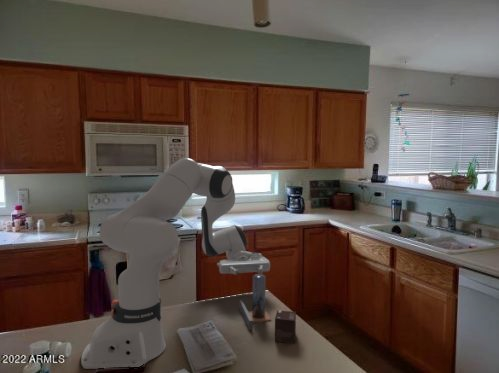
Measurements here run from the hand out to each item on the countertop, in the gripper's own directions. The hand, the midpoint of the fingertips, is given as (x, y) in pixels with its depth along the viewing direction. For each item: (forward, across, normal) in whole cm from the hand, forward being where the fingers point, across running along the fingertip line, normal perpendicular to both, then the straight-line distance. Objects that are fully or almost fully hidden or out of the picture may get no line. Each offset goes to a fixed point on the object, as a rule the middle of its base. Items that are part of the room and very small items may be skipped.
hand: (248, 272), depth 132 cm
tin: (+12, +1, +12) cm, 17 cm away
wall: (+12, -4, +12) cm, 17 cm away
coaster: (+12, +1, +12) cm, 17 cm away
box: (+27, +6, +13) cm, 30 cm away
